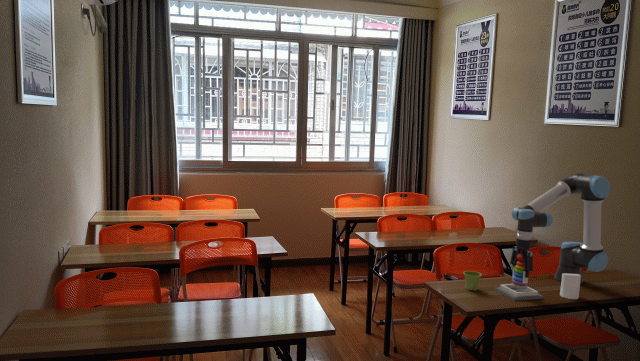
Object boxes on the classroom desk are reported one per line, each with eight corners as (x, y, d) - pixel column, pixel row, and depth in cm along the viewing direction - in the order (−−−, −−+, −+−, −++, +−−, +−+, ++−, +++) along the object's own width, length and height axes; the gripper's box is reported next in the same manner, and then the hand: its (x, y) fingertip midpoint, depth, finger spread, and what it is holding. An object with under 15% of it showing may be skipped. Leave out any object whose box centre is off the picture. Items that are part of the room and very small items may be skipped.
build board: (522, 288, 283) (522, 282, 283) (542, 298, 268) (543, 292, 268) (494, 290, 278) (495, 283, 277) (513, 300, 263) (514, 294, 262)
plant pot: (474, 293, 271) (475, 277, 270) (458, 288, 278) (460, 272, 277) (483, 289, 278) (485, 274, 276) (468, 285, 285) (469, 269, 283)
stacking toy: (529, 290, 268) (533, 255, 266) (514, 289, 268) (517, 254, 266) (523, 285, 276) (527, 251, 274) (509, 284, 276) (512, 250, 274)
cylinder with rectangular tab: (573, 293, 279) (576, 272, 277) (581, 299, 270) (584, 277, 268) (556, 292, 279) (559, 271, 278) (564, 298, 270) (566, 276, 269)
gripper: (505, 234, 278) (501, 275, 281) (531, 243, 259) (526, 287, 261) (517, 234, 280) (513, 274, 283) (543, 243, 261) (539, 286, 264)
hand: (519, 280), depth 272 cm, fingers closed on stacking toy, 7 cm apart
